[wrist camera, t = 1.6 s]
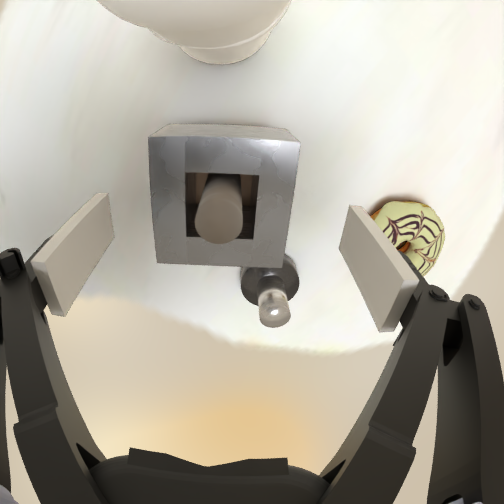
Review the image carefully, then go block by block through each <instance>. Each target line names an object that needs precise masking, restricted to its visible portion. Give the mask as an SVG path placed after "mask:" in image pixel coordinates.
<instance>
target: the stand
mask: <svg viewBox="0 0 504 504" xmlns="http://www.w3.org/2000/svg"><path fill="white" fill-rule="evenodd" d="M251 185H252V175H246V174H226V173H196V204H199V207H198V210H197V214H196V218H195V227H196V230H197V232H198V234H199V235H200V236H201V237H202V238H203V239H204V240H206V241H208V242H210V243H214V244H225V243H228V242H231V241H233V240H234V239H235V238H237V236H238V235H239V234H240V232H241V230H242V226H243V216H242V205H244V206H250V197H251Z"/></svg>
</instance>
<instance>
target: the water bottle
mask: <svg viewBox="0 0 504 504" xmlns="http://www.w3.org/2000/svg"><path fill="white" fill-rule="evenodd" d="M96 1H98V2H99V3H100V4H101V5H102V6H104V7H105V8H106V9H107V10H108V11H110V12H112V13H113V14H115V15H116V16H118V17H119V18H121V19H122V20H125V21H128V22H130V23H133V24H135V25H137V26H142V27H146V28H148V29H149V30H150V31H151V32H152V33H153V34H154V35H155V36H157V37H158V38H160V39H161V40H164V41H166V42H169V43H172V44H175V45H179V46H180V48H181V49H182V50H183V51H184V52H185V53H186V54H188V55H189V56H191V57H192V58H194V59H196V60H199V61H201V62H205V63H209V64H218V65H221V64H231V63H235V62H239V61H241V60H244V59H246V58H248V57H250V56H251V55H253V54H254V53H255V52H257V51H258V50H259V49H260V48H261V47H262V46H263V44H264V43H265V42H266V40H267V39H268V37H269V35H270V33H271V30H272V29H273V28H274V27H275V26H276V25H277V24H278V22H279V21H280V20H281V18H282V17H283V16H284V14H285V13H286V11H287V9H288V7H289V5H290V3H291V0H96Z"/></svg>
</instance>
